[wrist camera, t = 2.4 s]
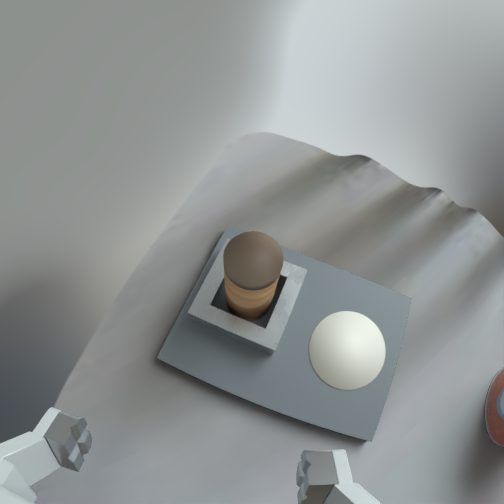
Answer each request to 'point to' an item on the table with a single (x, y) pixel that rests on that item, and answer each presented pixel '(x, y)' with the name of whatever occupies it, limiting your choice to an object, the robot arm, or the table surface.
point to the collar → (240, 328)
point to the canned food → (495, 409)
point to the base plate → (305, 349)
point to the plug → (251, 274)
